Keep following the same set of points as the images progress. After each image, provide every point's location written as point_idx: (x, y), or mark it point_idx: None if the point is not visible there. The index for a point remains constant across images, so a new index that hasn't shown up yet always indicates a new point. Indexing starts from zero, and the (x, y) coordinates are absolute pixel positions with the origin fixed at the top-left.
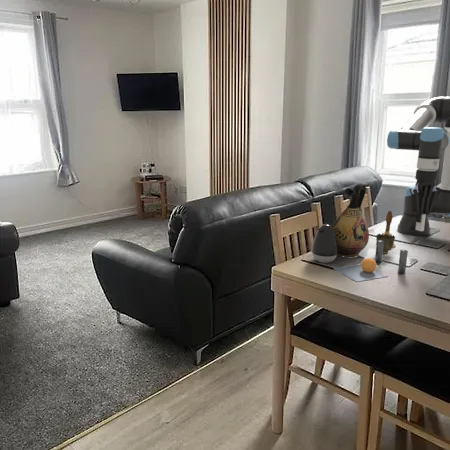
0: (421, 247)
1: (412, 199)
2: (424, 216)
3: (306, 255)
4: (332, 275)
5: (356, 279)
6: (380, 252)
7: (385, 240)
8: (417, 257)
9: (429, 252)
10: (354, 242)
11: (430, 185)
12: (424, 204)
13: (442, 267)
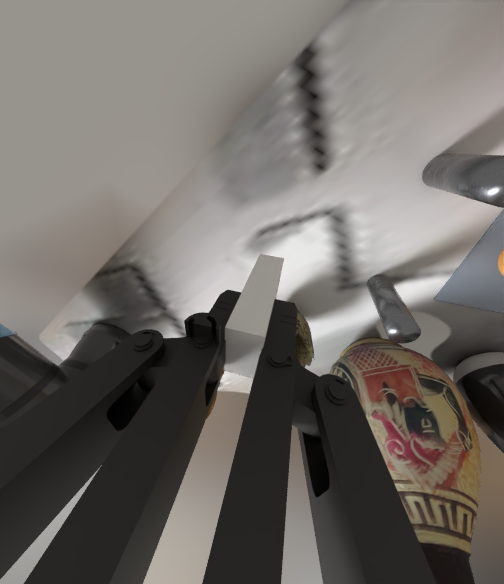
0: (164, 290)
1: None
2: (246, 317)
3: None
4: None
5: None
6: (400, 298)
7: (308, 337)
8: (231, 252)
9: (170, 259)
10: (444, 376)
11: None
12: (177, 464)
13: (233, 141)
